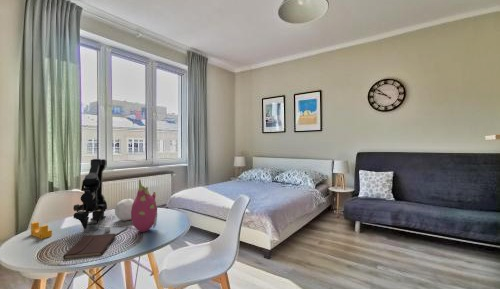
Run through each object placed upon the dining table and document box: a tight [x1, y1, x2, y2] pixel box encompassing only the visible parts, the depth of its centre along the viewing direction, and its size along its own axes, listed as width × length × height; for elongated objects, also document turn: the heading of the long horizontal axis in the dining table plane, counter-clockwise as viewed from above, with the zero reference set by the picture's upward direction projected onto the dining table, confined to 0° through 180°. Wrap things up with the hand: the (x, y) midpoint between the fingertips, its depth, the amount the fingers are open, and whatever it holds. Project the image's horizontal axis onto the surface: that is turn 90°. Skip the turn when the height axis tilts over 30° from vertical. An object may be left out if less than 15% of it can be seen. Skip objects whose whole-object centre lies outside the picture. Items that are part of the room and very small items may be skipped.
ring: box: [83, 221, 99, 233], centre depth 136 cm, size 7×7×3 cm
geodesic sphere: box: [114, 198, 135, 222], centre depth 153 cm, size 15×14×14 cm
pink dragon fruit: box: [130, 179, 158, 233], centre depth 133 cm, size 18×14×30 cm
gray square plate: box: [89, 225, 128, 236], centre depth 130 cm, size 14×14×4 cm
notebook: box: [62, 234, 117, 260], centre depth 113 cm, size 15×20×2 cm
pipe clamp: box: [30, 221, 53, 240], centre depth 127 cm, size 12×4×6 cm, turn 64°
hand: (91, 225), depth 136 cm, fingers open, 9 cm apart
